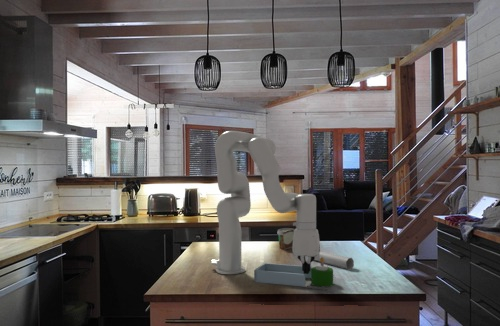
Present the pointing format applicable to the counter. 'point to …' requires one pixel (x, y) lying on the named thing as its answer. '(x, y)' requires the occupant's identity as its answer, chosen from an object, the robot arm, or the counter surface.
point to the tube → (336, 260)
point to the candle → (322, 275)
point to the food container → (285, 238)
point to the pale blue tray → (281, 274)
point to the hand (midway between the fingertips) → (306, 273)
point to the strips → (316, 287)
